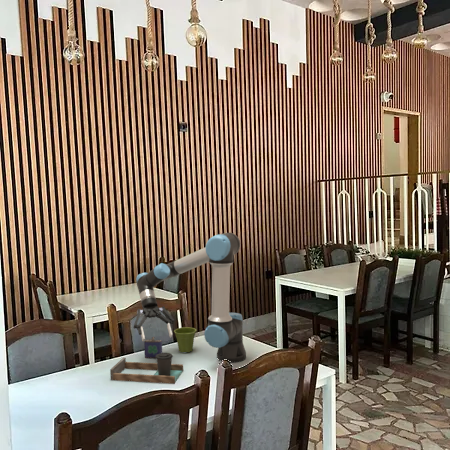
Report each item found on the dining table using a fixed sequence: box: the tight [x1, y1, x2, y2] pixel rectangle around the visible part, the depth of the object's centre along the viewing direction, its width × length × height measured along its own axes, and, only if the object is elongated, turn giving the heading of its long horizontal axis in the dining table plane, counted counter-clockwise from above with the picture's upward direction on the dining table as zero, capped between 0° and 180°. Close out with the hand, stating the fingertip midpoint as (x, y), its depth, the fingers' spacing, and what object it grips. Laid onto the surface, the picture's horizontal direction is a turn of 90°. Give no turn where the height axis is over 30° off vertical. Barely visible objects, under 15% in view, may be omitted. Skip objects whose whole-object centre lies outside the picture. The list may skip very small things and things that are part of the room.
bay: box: [109, 357, 184, 385], centre depth 232 cm, size 30×16×5 cm, turn 80°
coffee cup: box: [154, 352, 174, 376], centre depth 231 cm, size 8×8×10 cm
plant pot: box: [173, 326, 197, 353], centre depth 266 cm, size 12×12×11 cm
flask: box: [143, 336, 163, 359], centre depth 256 cm, size 9×3×11 cm, turn 88°
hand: (157, 338), depth 238 cm, fingers open, 13 cm apart
